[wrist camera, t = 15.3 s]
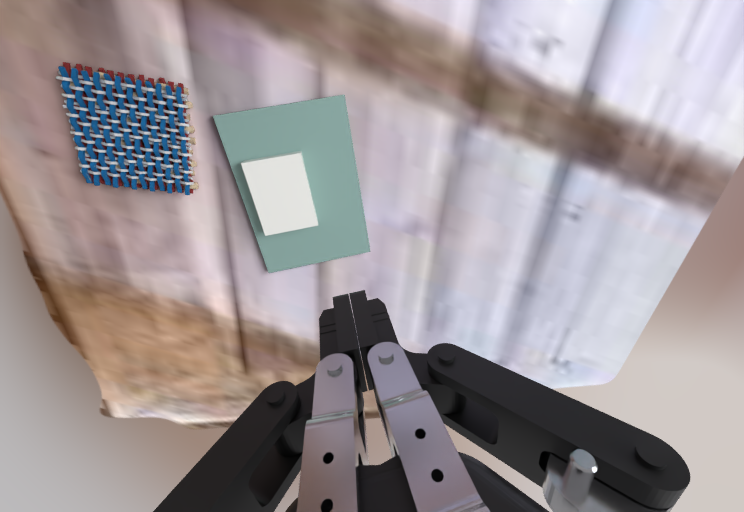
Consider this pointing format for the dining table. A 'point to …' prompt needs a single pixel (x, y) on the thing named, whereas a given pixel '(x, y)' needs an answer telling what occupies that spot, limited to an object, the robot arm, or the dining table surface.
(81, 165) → the woven mat
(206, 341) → the dining table surface
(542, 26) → the dining table surface
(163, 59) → the dining table surface
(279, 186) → the rectangular block
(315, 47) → the dining table surface
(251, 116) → the mat
